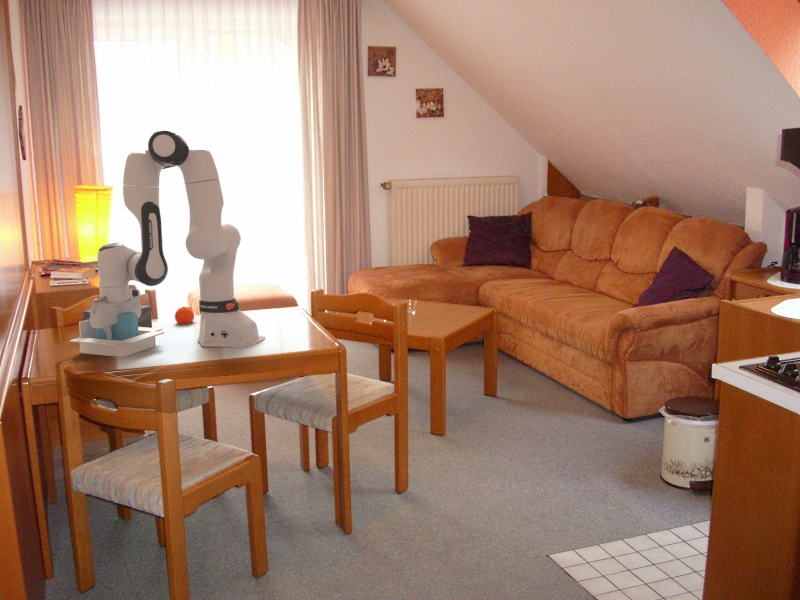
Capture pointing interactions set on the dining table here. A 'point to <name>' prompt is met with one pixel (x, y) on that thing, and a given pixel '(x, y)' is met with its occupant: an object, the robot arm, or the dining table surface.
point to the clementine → (184, 315)
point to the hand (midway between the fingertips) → (118, 336)
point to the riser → (142, 320)
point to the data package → (122, 327)
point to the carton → (114, 341)
